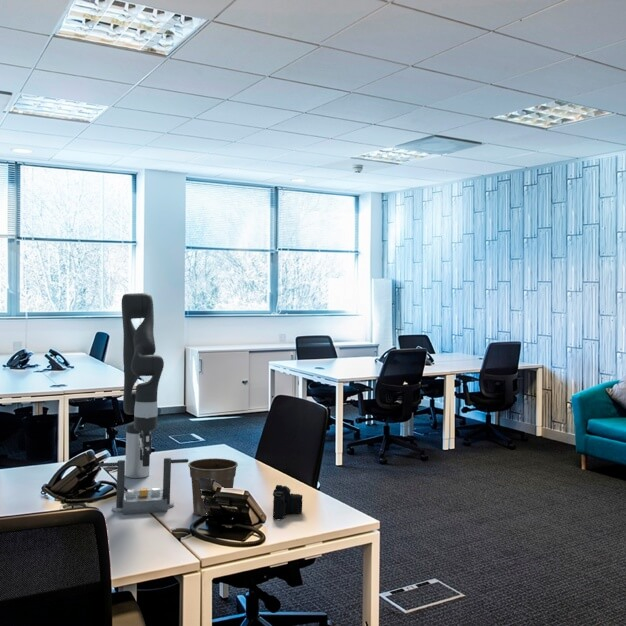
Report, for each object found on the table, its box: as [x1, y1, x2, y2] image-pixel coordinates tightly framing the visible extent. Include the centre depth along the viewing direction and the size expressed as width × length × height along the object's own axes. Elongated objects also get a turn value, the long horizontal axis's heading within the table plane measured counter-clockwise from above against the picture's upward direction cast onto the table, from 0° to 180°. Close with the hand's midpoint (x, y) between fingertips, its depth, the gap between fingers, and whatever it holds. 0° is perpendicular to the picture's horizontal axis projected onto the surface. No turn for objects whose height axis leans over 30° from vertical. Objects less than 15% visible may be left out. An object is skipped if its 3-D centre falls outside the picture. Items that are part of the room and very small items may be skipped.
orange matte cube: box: [139, 487, 148, 497], centre depth 223 cm, size 2×2×2 cm
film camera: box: [272, 484, 303, 520], centre depth 223 cm, size 15×10×9 cm, turn 178°
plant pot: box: [187, 457, 239, 517], centre depth 221 cm, size 16×16×16 cm
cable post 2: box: [162, 457, 189, 509], centre depth 227 cm, size 5×10×16 cm, turn 110°
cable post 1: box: [98, 459, 126, 513], centre depth 220 cm, size 5×10×16 cm, turn 110°
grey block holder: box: [122, 487, 168, 516], centre depth 223 cm, size 12×14×6 cm
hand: (144, 463), depth 223 cm, fingers open, 8 cm apart
